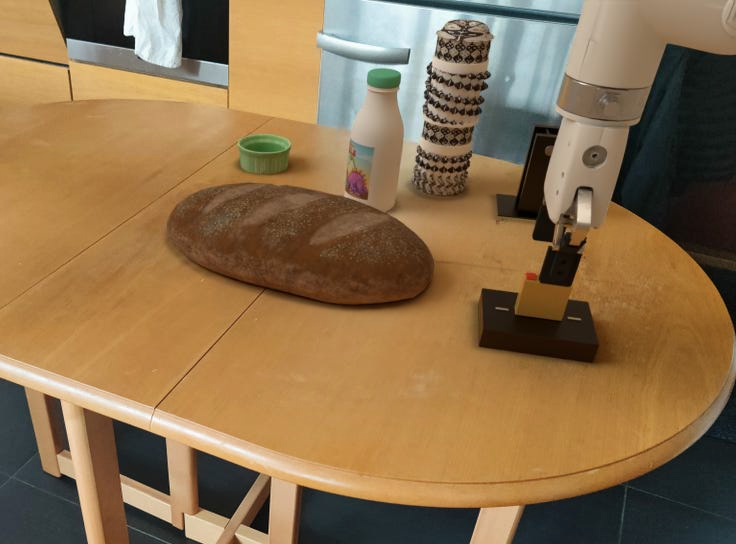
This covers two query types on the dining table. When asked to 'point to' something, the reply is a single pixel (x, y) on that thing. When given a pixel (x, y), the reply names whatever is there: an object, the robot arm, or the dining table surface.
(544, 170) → the latch bracket
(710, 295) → the dining table surface
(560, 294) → the lock knob
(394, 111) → the milk bottle
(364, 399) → the dining table surface
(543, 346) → the plate
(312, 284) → the bread
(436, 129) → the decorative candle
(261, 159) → the ramekin
